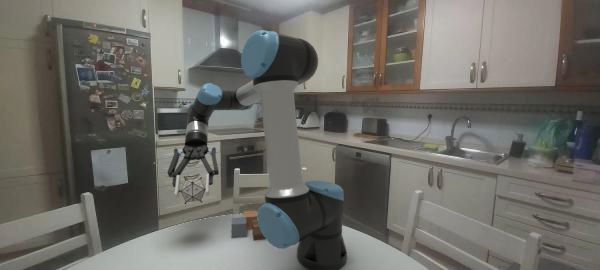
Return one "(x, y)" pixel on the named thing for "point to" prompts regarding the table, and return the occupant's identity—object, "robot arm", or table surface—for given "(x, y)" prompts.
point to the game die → (193, 190)
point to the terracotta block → (249, 218)
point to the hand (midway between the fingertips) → (192, 194)
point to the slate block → (238, 227)
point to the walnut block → (257, 231)
